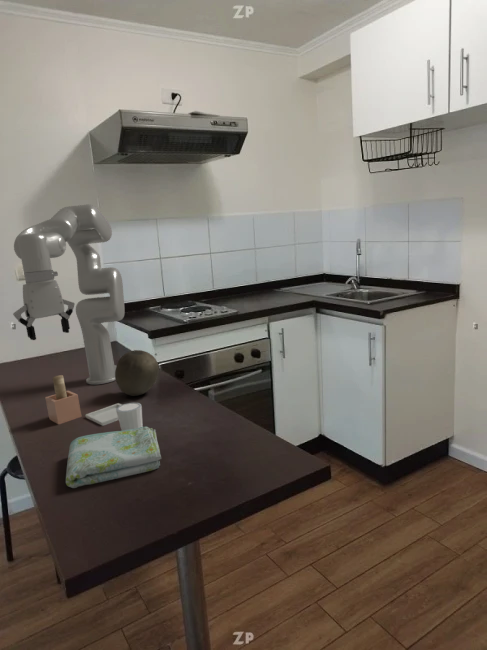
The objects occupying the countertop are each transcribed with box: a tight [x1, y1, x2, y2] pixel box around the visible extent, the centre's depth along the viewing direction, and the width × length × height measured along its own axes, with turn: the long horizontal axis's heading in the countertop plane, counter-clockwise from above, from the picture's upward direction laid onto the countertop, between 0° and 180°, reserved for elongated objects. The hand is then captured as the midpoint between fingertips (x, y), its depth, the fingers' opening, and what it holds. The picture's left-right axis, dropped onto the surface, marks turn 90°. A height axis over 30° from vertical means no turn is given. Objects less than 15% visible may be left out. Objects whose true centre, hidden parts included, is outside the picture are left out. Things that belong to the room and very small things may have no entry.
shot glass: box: [116, 402, 144, 431], centre depth 131 cm, size 7×7×7 cm
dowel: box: [52, 374, 67, 400], centre depth 144 cm, size 3×3×13 cm
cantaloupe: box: [115, 349, 160, 397], centre depth 161 cm, size 14×14×15 cm
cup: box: [44, 390, 83, 425], centre depth 145 cm, size 7×7×8 cm
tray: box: [85, 402, 123, 427], centre depth 143 cm, size 11×11×2 cm
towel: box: [65, 426, 162, 489], centre depth 114 cm, size 18×21×5 cm
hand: (50, 335), depth 140 cm, fingers open, 9 cm apart
